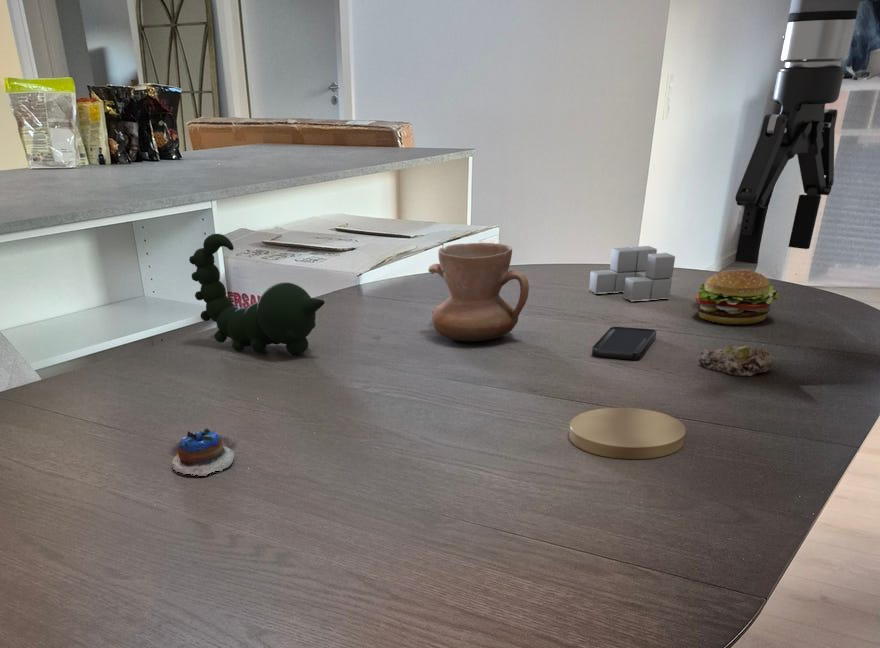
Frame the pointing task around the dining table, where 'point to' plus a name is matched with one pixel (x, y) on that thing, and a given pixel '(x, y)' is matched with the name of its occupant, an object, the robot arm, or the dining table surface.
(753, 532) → the dining table surface
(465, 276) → the ceramic jug
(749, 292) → the food
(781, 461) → the dining table surface
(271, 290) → the toy figurine
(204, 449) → the dessert
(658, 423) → the wood disc
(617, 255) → the puzzle cube
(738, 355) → the mineral rock
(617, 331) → the phone
